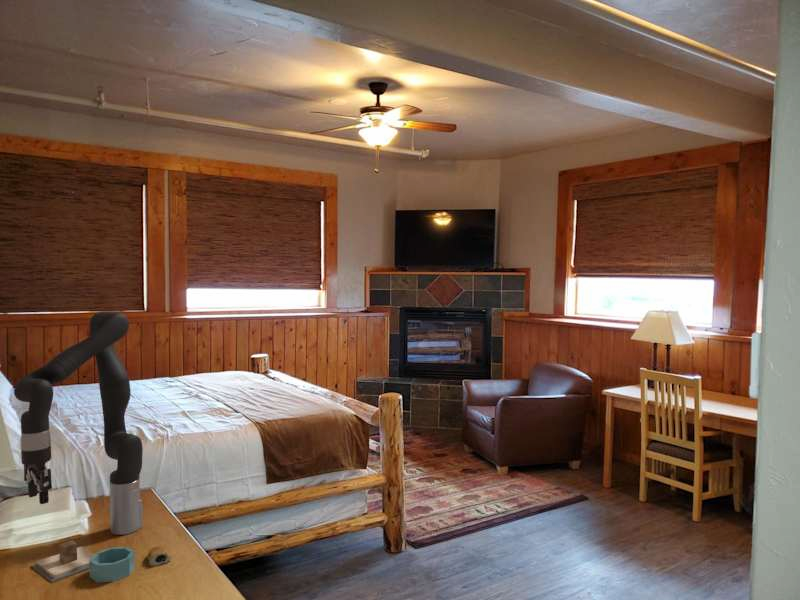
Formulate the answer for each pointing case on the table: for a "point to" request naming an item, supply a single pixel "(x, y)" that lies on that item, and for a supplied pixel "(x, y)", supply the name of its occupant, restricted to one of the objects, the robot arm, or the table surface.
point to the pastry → (159, 556)
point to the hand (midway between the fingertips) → (38, 499)
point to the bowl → (112, 564)
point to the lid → (66, 560)
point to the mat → (58, 577)
